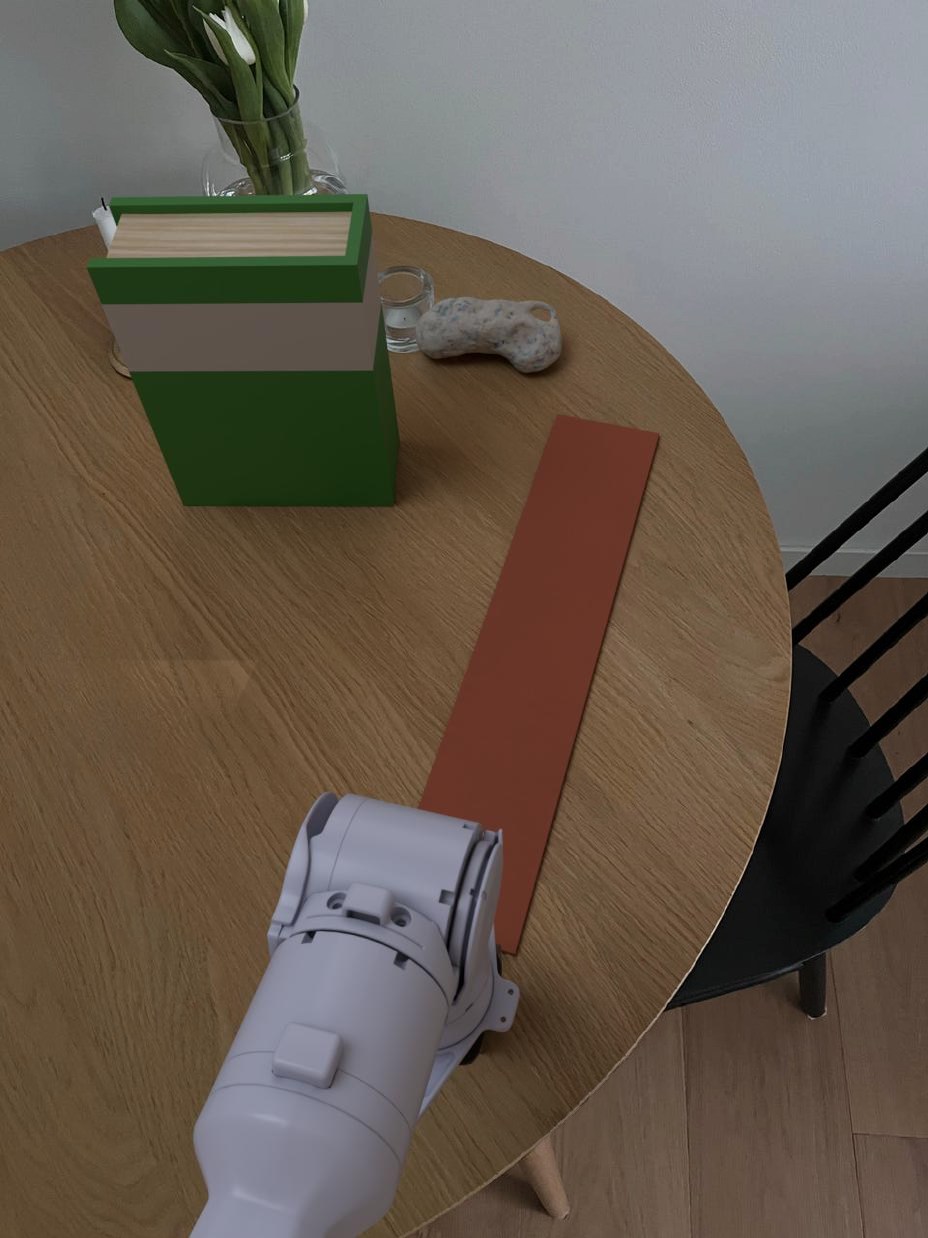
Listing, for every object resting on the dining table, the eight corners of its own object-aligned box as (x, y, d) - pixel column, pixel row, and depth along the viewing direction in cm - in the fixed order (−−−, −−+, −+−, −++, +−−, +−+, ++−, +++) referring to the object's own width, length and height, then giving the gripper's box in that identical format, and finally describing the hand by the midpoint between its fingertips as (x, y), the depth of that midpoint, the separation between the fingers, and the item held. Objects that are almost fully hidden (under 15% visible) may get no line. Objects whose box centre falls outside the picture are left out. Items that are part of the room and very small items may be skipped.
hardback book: (183, 505, 89) (86, 267, 69) (198, 440, 93) (111, 197, 73) (393, 506, 88) (357, 264, 68) (399, 440, 92) (367, 193, 72)
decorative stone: (414, 381, 96) (409, 338, 91) (417, 331, 99) (413, 286, 95) (562, 379, 95) (564, 335, 91) (559, 328, 99) (561, 283, 94)
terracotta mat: (515, 956, 67) (515, 954, 66) (380, 916, 68) (380, 914, 68) (659, 436, 91) (659, 432, 90) (556, 416, 92) (557, 413, 92)
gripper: (461, 1183, 39) (477, 1199, 51) (559, 820, 46) (553, 907, 57) (284, 1122, 40) (339, 1151, 52) (405, 778, 47) (430, 872, 59)
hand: (443, 1020), depth 55 cm, fingers closed
